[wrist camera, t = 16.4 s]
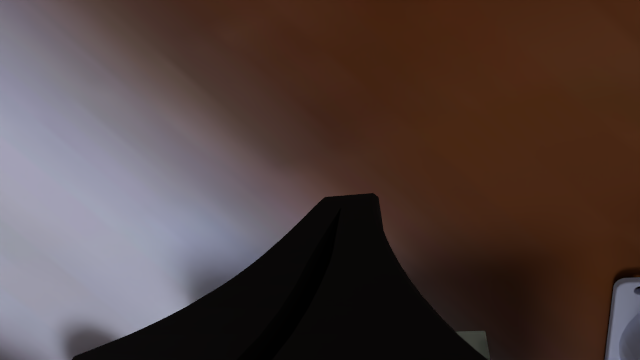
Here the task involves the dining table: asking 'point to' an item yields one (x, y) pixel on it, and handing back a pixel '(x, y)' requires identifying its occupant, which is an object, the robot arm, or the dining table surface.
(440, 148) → the dining table surface
